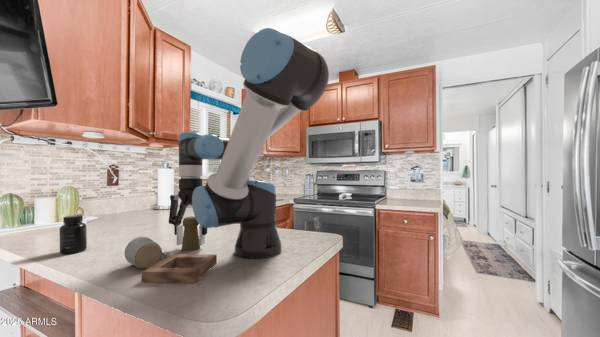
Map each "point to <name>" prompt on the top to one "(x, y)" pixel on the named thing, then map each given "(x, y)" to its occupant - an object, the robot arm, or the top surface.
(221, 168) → the robot arm
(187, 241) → the olive rounded upright piece
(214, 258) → the socket block
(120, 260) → the top surface
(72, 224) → the supplement bottle
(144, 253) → the ceramic mug
